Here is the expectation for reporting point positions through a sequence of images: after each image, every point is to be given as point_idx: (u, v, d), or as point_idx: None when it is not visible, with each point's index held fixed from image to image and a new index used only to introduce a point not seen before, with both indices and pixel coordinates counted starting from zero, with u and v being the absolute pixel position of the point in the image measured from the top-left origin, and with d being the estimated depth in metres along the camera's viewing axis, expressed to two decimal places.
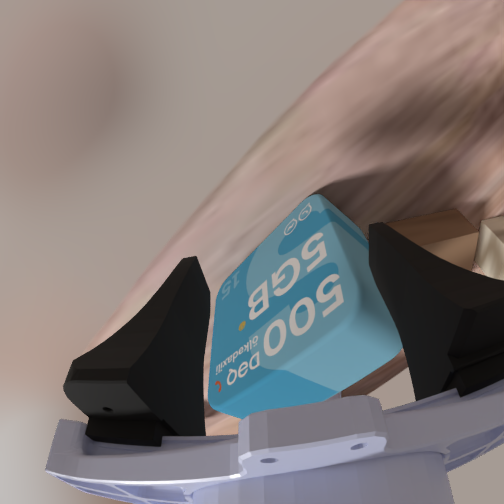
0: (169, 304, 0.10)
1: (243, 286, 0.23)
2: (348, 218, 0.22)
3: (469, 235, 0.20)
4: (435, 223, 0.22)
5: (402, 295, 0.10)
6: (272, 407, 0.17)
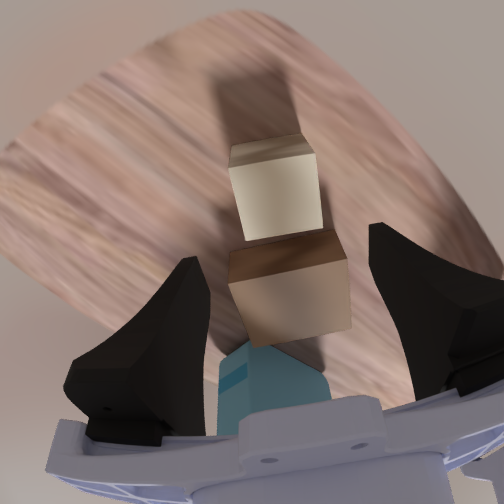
0: (169, 304, 0.10)
1: None
2: (237, 352, 0.29)
3: (234, 292, 0.22)
4: None
5: (402, 295, 0.10)
6: None
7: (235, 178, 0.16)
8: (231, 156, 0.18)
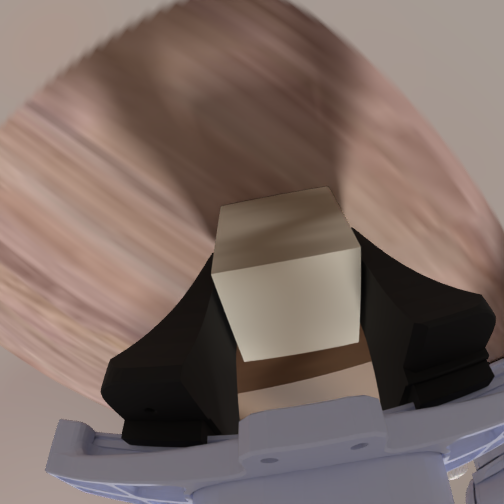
0: (208, 298, 0.10)
1: None
2: None
3: None
4: None
5: (367, 303, 0.10)
6: None
7: (225, 288, 0.10)
8: (218, 238, 0.11)
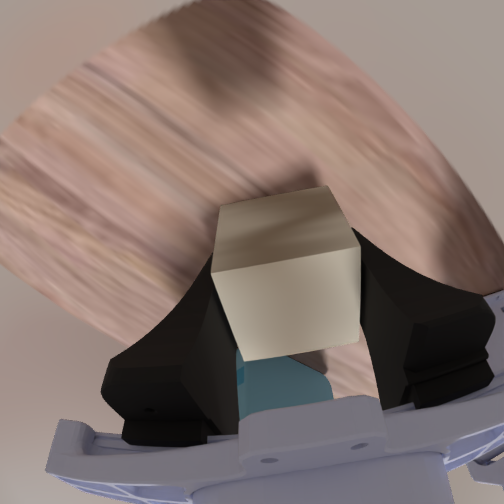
0: (208, 298, 0.10)
1: None
2: None
3: None
4: None
5: (367, 303, 0.10)
6: None
7: (224, 288, 0.10)
8: (218, 237, 0.11)
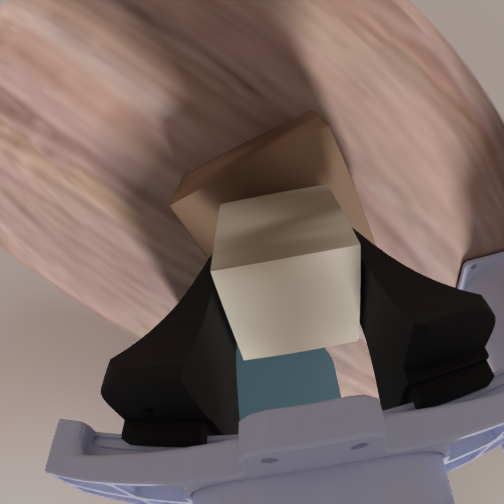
0: (208, 298, 0.10)
1: None
2: None
3: (183, 218, 0.15)
4: None
5: (367, 303, 0.10)
6: None
7: (224, 286, 0.10)
8: (217, 235, 0.11)
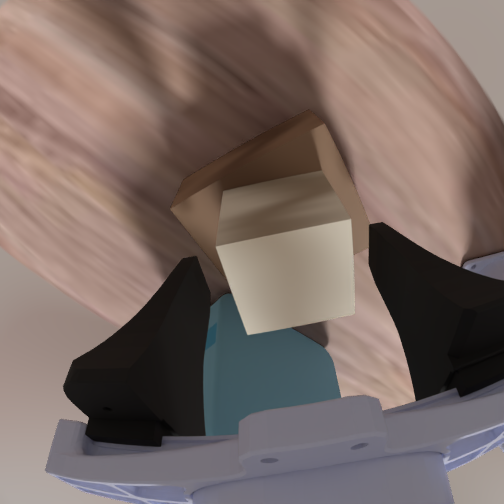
0: (169, 304, 0.10)
1: None
2: None
3: (184, 220, 0.15)
4: None
5: (402, 295, 0.10)
6: None
7: (228, 260, 0.11)
8: (221, 217, 0.12)
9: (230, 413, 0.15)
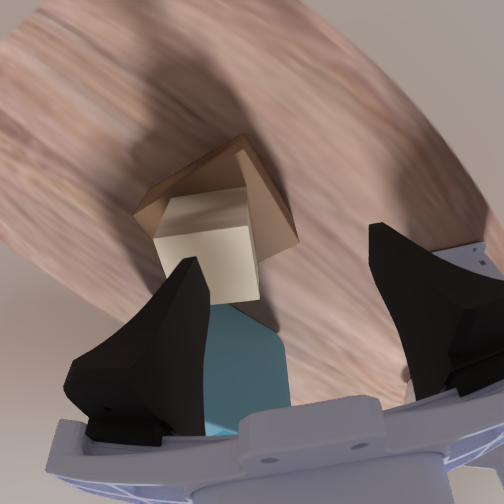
0: (169, 304, 0.10)
1: None
2: None
3: (143, 224, 0.19)
4: None
5: (402, 295, 0.10)
6: None
7: (162, 249, 0.15)
8: (163, 218, 0.16)
9: None
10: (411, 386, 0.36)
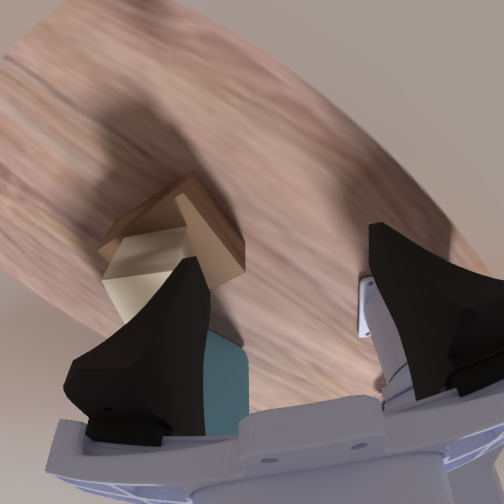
0: (169, 304, 0.10)
1: None
2: None
3: (106, 258, 0.21)
4: None
5: (402, 295, 0.10)
6: None
7: (109, 288, 0.17)
8: (113, 259, 0.18)
9: None
10: None
